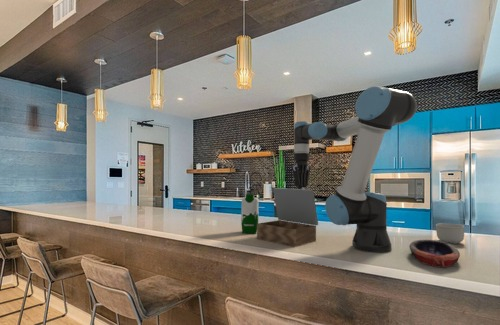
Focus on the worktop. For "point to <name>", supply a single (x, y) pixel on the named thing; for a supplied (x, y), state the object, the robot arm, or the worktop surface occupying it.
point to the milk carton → (249, 214)
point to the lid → (296, 205)
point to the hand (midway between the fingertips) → (301, 200)
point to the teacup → (450, 232)
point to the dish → (434, 252)
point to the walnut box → (286, 232)
